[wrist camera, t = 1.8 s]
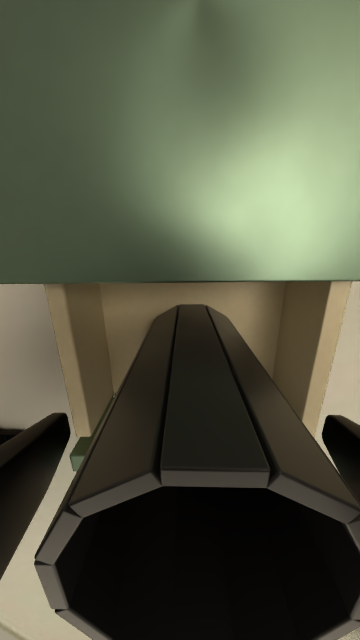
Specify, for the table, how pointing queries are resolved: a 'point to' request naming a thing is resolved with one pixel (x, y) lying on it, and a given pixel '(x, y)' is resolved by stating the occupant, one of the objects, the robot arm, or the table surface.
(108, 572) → the black cup
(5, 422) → the table surface
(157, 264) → the green box
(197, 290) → the drawer
